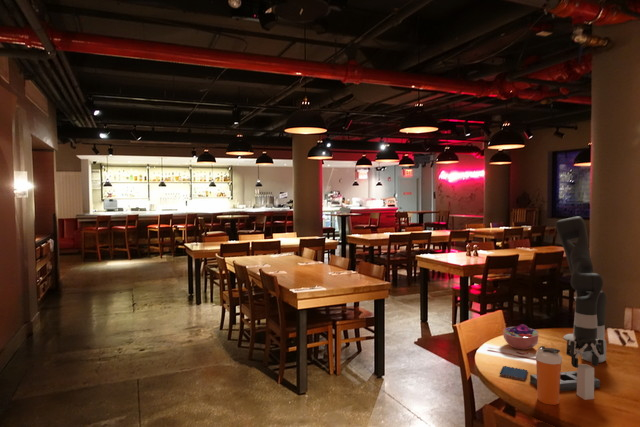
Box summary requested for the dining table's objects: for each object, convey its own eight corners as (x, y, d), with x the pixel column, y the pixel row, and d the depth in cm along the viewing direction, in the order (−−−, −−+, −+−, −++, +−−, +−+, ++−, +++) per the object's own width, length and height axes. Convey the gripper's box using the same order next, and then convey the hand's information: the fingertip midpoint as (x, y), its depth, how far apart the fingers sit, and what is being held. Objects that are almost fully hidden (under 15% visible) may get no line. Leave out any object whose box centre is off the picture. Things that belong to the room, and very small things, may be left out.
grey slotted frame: (580, 377, 184) (581, 370, 184) (599, 387, 174) (599, 380, 174) (530, 381, 180) (530, 374, 180) (546, 392, 170) (546, 385, 170)
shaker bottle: (560, 408, 158) (561, 354, 157) (533, 402, 162) (534, 350, 162) (562, 398, 165) (562, 347, 164) (536, 393, 170) (536, 343, 169)
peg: (585, 394, 169) (586, 363, 168) (593, 398, 165) (594, 367, 164) (576, 395, 168) (577, 364, 168) (584, 399, 164) (585, 368, 164)
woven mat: (526, 382, 180) (526, 378, 180) (499, 377, 186) (499, 373, 186) (528, 374, 189) (528, 369, 189) (502, 369, 195) (502, 364, 195)
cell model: (495, 348, 221) (495, 326, 220) (512, 339, 234) (512, 318, 234) (529, 356, 208) (529, 333, 208) (545, 347, 222) (546, 325, 221)
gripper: (594, 321, 170) (593, 361, 171) (562, 322, 168) (561, 363, 169) (610, 326, 163) (609, 368, 163) (576, 328, 161) (575, 371, 161)
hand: (584, 366), depth 166 cm, fingers open, 8 cm apart
